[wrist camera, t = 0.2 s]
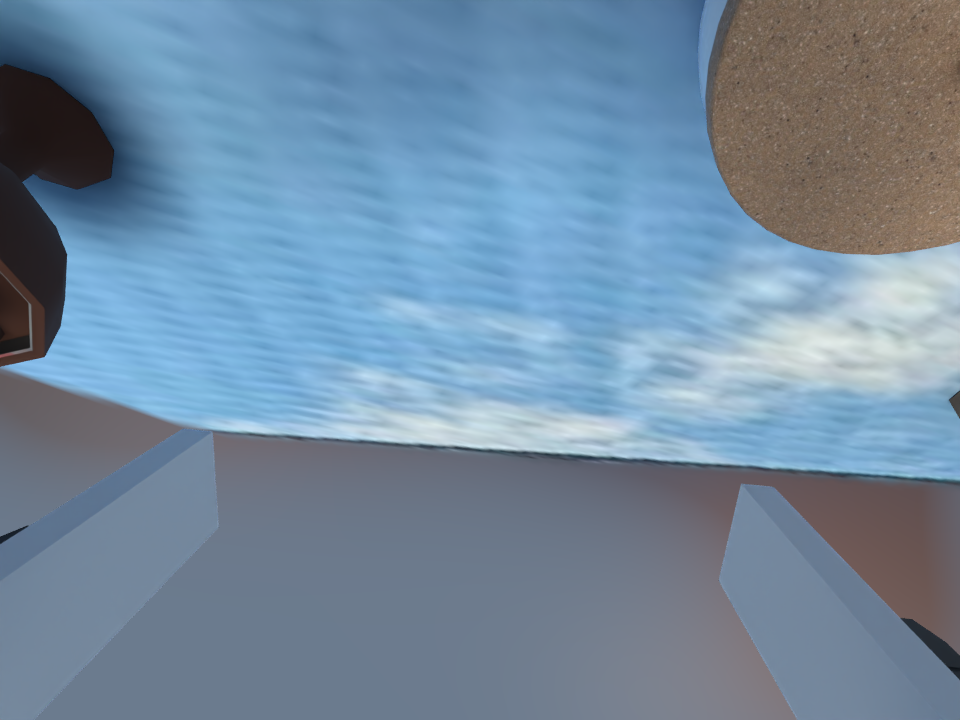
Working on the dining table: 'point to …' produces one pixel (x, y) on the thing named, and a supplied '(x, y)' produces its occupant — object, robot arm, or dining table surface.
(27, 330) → the ice cream bowl
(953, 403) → the wooden frame
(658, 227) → the dining table surface
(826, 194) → the lidded jar
